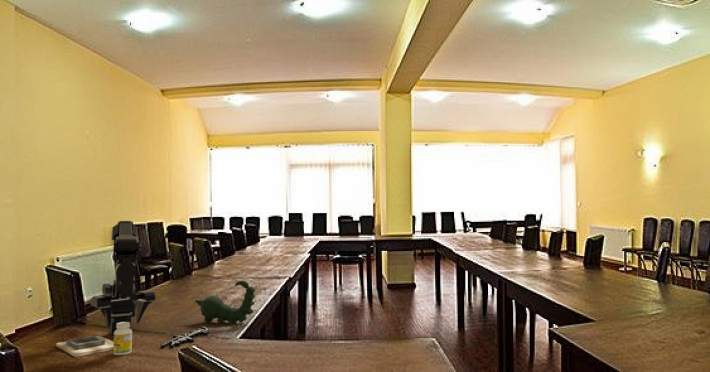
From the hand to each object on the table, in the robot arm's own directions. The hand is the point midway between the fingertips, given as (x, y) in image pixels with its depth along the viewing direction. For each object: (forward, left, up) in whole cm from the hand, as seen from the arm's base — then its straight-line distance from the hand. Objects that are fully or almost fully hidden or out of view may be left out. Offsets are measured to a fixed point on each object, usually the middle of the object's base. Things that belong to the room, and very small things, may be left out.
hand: (123, 325), depth 158 cm
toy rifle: (-24, -2, -10) cm, 26 cm away
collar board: (+5, -15, -9) cm, 18 cm away
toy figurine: (-47, -14, -9) cm, 50 cm away
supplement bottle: (0, 0, -9) cm, 9 cm away
